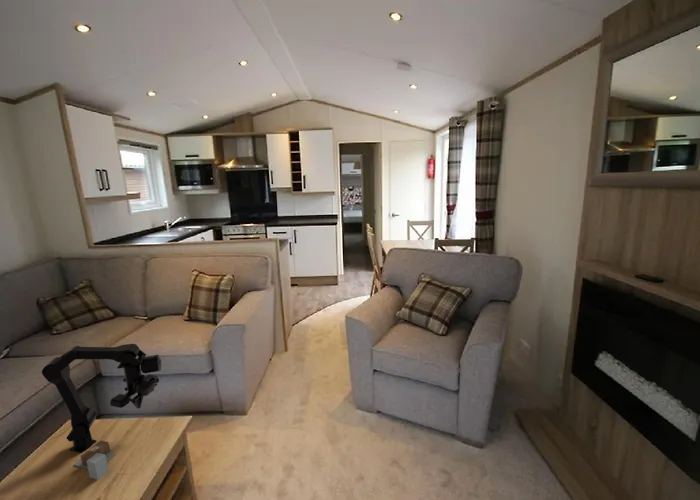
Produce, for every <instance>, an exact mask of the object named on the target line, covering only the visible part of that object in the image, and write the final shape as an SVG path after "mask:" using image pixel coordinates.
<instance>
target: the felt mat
mask: <svg viewBox="0 0 700 500" xmlns="http://www.w3.org/2000/svg"><path fill="white" fill-rule="evenodd" d="M115 456H116V454H115V453H112V452H110V451H109V452H108V453H107V454H106V460H107V462H109V461H110V460H111V459H113V457H115ZM73 466H74V467H77V468H81V469H85V470H88V467H87V466H85V465H82V461H81V458H79V459H78V460H77V461H76V462H75V463H73Z"/></svg>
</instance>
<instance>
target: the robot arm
mask: <svg viewBox="0 0 700 500" xmlns="http://www.w3.org/2000/svg"><path fill="white" fill-rule="evenodd" d="M75 360H110V361H114V362H117V363H119V364H118V365H117V367H116V369H118V370H119V369H123V373H124V378H123V379H122V381H123V383H124V382H125V384H126V387H124V391H126V392H125V393H124V394H121V393H119V394H116V395H115V396H114V397H112V398H111V399H110V401H109V403H110V406H111V407H115V408H125V406H127V405H128V404H130V403H131V404H133V406H134V407H135V408H136V409H141V408H142V407H141V406H142V403H143V399H144V397H146V396H149V395H150V394H151V393H152V392H154V391H155V388H156V387H157V386H158V383H159V382H160V378H159V376H158V375H154V374H150V373H156V372H161V371H162V359H161V357H160V355H159V354H154V355H150V356H147V353H145V352H144V351H142V350H141V349H140V347H139V346H138V345H137V344H135V343H127V344H121V345H118V346H108V347H107V346H79V345H76V346H73V347H72V348H71V349H70V350H68V351H67V352H64V353H63V354H61V356H58V357H57V356H56V357H54V358H52V359H51V360H50V361H49V362H48V363H47V364H46V365H45V366H44V367H43V368H42V370H41V375H42V376H43V378H44V379H45V380H46V381H47V382H48V383H50V384H53V385H55V387H56V389H57V392H58V393H59V394H60V397H61V398H62V401H63V402H64V404H65V406H66V408H67V410H68V412H69V414H70V424H71V430H70V432H69V433H68V435H66V439H67V441H68V442H72V446H71V447H69V451H72V452H74V453H79V454H83V453H84V452H86V451H87V450H88V449H90V448H91V447H92V445H93V446H94V445H95V444H96V443H97V440H96V439H93V437H92V433H91V431H90V429H91V427H92V425H93V424H94V422H95V420H96V419H97V414H98V413H97V412H96V410H95V408H94V406H86V405H85V404H84V403H85V402H83V400H82V398H81V395H80V394H79V392H78V390H77V388H76V386H75V384H74V383H73V381H72V379H71V371H70V370H71V367H70V364H71V363H73V362H74V361H75ZM145 374H147V375H146V376H145Z"/></svg>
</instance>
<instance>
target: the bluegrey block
mask: <svg viewBox="0 0 700 500" xmlns="http://www.w3.org/2000/svg"><path fill="white" fill-rule="evenodd" d="M86 462H87V467H88V469H87V470H88V475H89V478H90V479H94V480H96V481H97V480H100V479H101V478H102V477H103V476H105V475H106V474H107V473H108V472H109V466H108V461H107V460H106V455H104V454H100V453H96V454H95V455H94V456H92V457H91V458H90V459H89V460H87V461H86Z"/></svg>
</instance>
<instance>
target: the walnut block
mask: <svg viewBox="0 0 700 500" xmlns="http://www.w3.org/2000/svg"><path fill="white" fill-rule="evenodd" d="M110 451H111V448H110V442H109V441H104V440H99V441H98V442H96V443H94V444H93V446H90V447H89V448H88V449H86V450H85V451H84V452H83V453H81V455H80V459H81V461H82V465H85V466H87V462H86V461H87V460H89V459H90V458H91V457H92V456H94V455H95V454H96V453H100V454H104V455H106V454H107V453H108V452H109V453H110Z"/></svg>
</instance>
